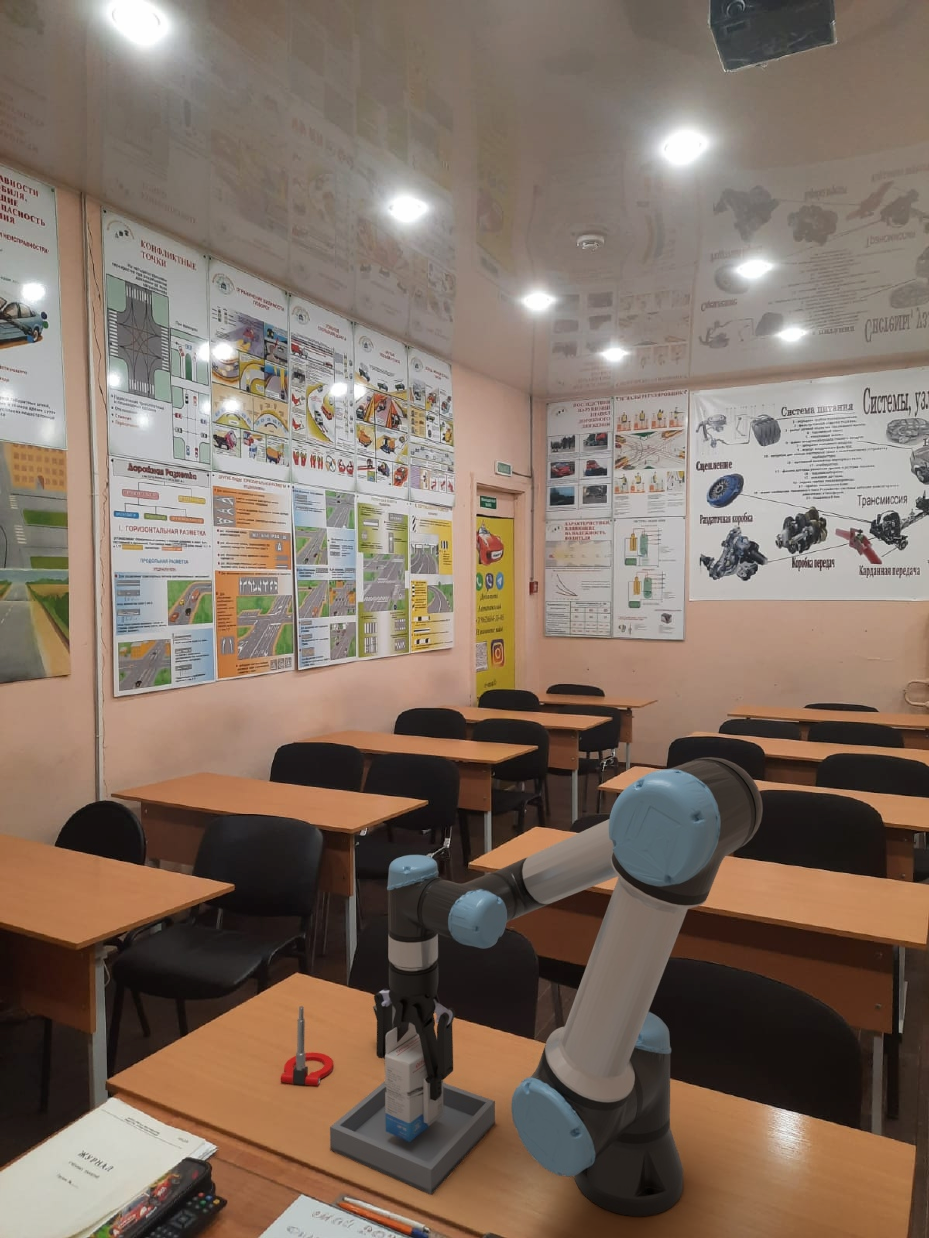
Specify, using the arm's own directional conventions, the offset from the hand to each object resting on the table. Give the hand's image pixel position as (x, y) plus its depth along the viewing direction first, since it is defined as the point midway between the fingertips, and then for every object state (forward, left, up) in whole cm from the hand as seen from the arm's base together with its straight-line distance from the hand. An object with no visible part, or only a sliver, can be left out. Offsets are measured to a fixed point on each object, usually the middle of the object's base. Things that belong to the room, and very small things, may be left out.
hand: (414, 1111), depth 125 cm
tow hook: (+26, -5, -4) cm, 27 cm away
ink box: (0, 0, -2) cm, 2 cm away
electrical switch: (+16, -18, -4) cm, 24 cm away
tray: (0, 0, -4) cm, 4 cm away
